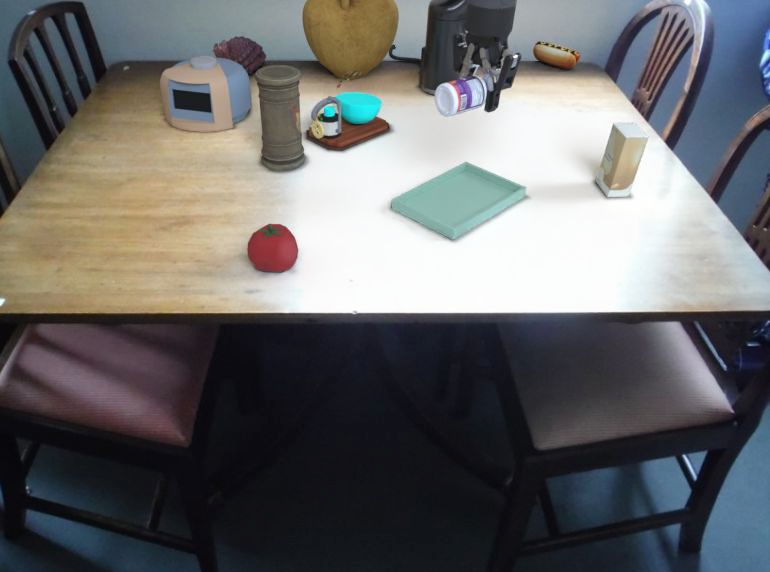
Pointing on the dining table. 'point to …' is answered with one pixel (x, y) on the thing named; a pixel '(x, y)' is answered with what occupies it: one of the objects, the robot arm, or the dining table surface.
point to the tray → (458, 199)
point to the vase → (350, 33)
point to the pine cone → (241, 52)
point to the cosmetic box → (621, 159)
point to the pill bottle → (461, 95)
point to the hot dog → (556, 55)
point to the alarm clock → (205, 94)
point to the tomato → (273, 248)
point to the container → (280, 117)
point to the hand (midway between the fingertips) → (478, 104)
